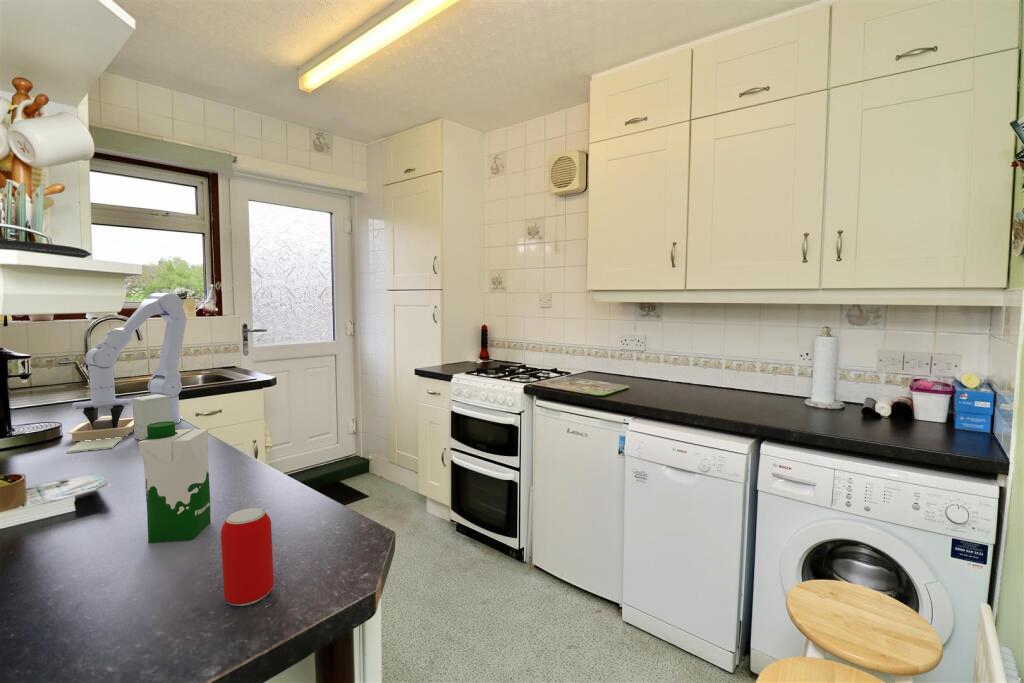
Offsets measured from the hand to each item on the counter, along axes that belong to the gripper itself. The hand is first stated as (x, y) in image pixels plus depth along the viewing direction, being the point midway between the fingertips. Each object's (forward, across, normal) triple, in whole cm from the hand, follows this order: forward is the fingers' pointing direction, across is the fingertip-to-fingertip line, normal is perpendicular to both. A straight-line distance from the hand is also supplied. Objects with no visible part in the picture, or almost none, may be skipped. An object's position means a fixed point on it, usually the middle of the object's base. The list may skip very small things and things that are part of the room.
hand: (105, 430), depth 151 cm
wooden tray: (+1, 0, 0) cm, 1 cm away
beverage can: (+2, +44, -114) cm, 122 cm away
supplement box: (+2, +14, -10) cm, 17 cm away
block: (+1, 0, 0) cm, 1 cm away
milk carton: (+2, +32, -86) cm, 92 cm away
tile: (+1, +1, -14) cm, 14 cm away
